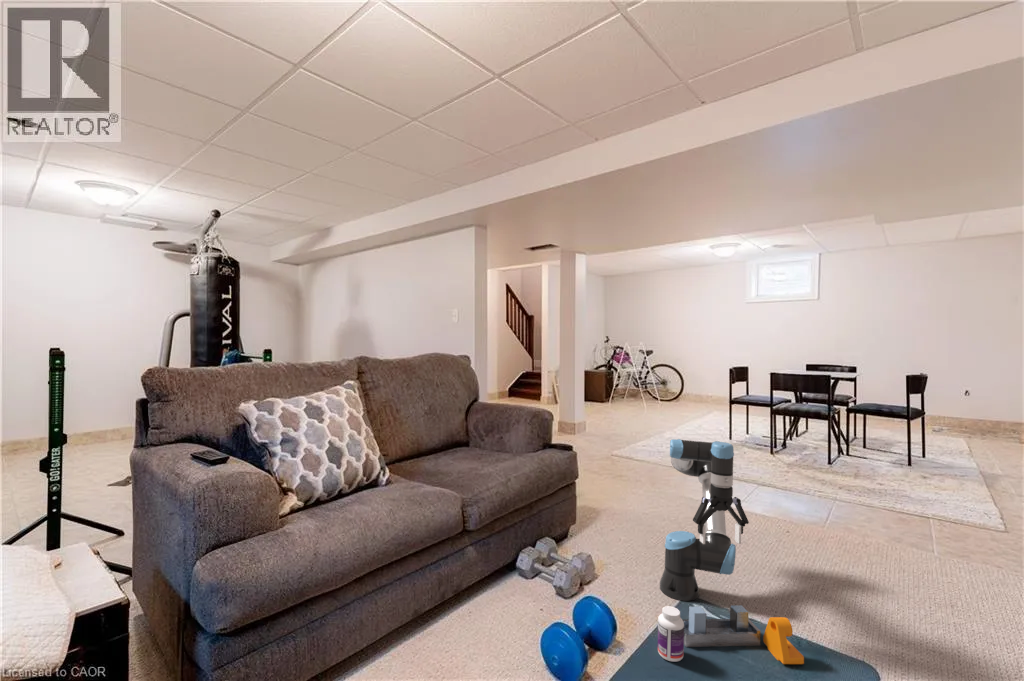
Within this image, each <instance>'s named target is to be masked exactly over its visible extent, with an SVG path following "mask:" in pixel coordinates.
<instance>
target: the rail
mask: <svg viewBox="0 0 1024 681" xmlns="http://www.w3.org/2000/svg"><path fill="white" fill-rule="evenodd" d="M729 610H730V611H729V618H706V633H691V632H690V631H689V618H688V619H684V618H681V619H682V620H683V622H684V647H685V648H689V647H690V648H694V647H695V648H696V647H697V648H699V647H701V648H703V647H737V646H738V647H745V646H747V647H753V646H761V629H760V628H758V626H757V625H756V624H754V623H753V621H751V619H750V618H749V611H748V610H747V609H746V608H745V607H744V606H743V605H742V604H741V605H737V604H736V605H730V607H729Z"/></svg>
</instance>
